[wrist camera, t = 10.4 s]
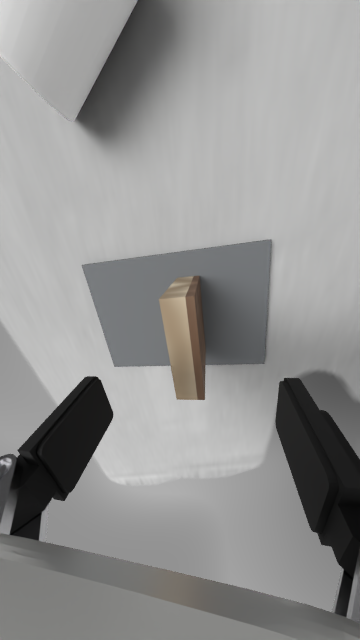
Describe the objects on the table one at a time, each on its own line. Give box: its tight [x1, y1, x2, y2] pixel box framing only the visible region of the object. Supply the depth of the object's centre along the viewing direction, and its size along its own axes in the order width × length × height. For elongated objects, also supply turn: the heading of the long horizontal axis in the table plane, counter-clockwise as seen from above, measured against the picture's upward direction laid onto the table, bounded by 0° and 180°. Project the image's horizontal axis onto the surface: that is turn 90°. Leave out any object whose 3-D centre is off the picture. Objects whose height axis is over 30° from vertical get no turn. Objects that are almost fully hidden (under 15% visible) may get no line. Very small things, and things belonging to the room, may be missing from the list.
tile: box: [159, 276, 206, 400], centre depth 17 cm, size 2×9×8 cm, turn 7°
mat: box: [82, 240, 271, 367], centre depth 22 cm, size 20×14×1 cm
